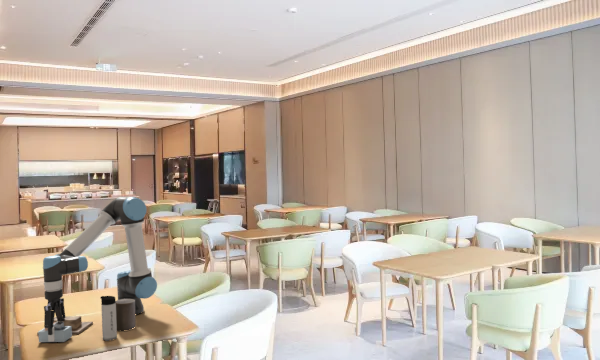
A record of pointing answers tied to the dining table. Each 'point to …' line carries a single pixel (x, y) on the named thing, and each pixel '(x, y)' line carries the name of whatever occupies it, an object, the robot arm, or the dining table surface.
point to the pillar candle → (125, 314)
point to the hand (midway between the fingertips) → (56, 338)
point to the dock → (84, 326)
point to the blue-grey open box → (56, 334)
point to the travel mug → (109, 318)
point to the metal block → (58, 326)
